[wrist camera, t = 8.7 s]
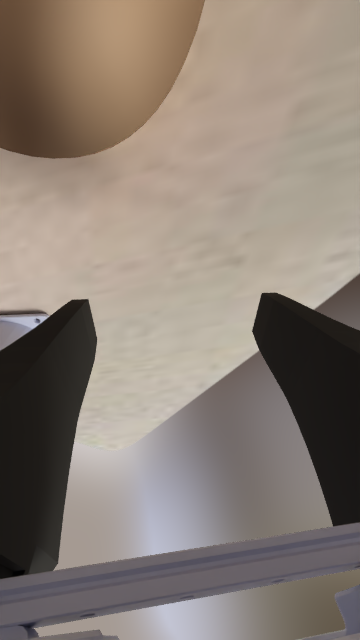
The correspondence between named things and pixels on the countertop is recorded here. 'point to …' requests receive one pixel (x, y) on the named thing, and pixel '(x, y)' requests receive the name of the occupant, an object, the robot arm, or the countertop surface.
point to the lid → (87, 70)
